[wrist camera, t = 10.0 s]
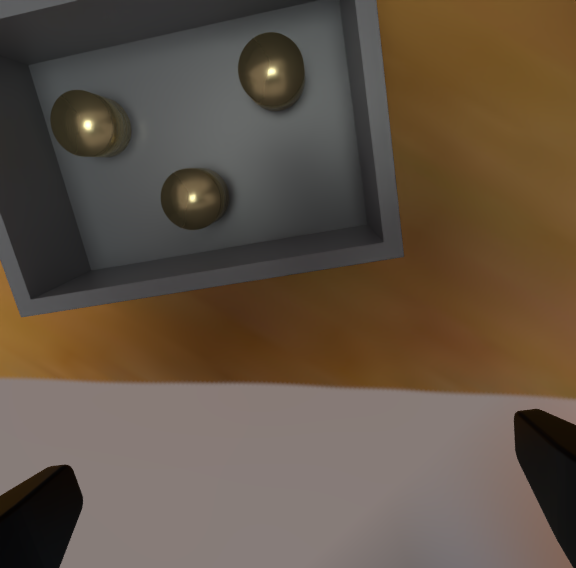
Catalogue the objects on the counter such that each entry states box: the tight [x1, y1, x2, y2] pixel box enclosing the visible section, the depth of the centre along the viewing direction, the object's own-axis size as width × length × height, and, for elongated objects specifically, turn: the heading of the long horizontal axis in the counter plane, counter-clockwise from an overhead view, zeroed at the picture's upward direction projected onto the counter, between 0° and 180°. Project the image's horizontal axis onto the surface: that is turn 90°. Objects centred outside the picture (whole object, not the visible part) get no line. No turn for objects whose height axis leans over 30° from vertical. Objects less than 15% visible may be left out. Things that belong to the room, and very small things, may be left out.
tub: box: [0, 0, 404, 317], centre depth 16 cm, size 14×10×5 cm
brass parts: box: [50, 32, 305, 230], centre depth 17 cm, size 10×6×2 cm, turn 100°
